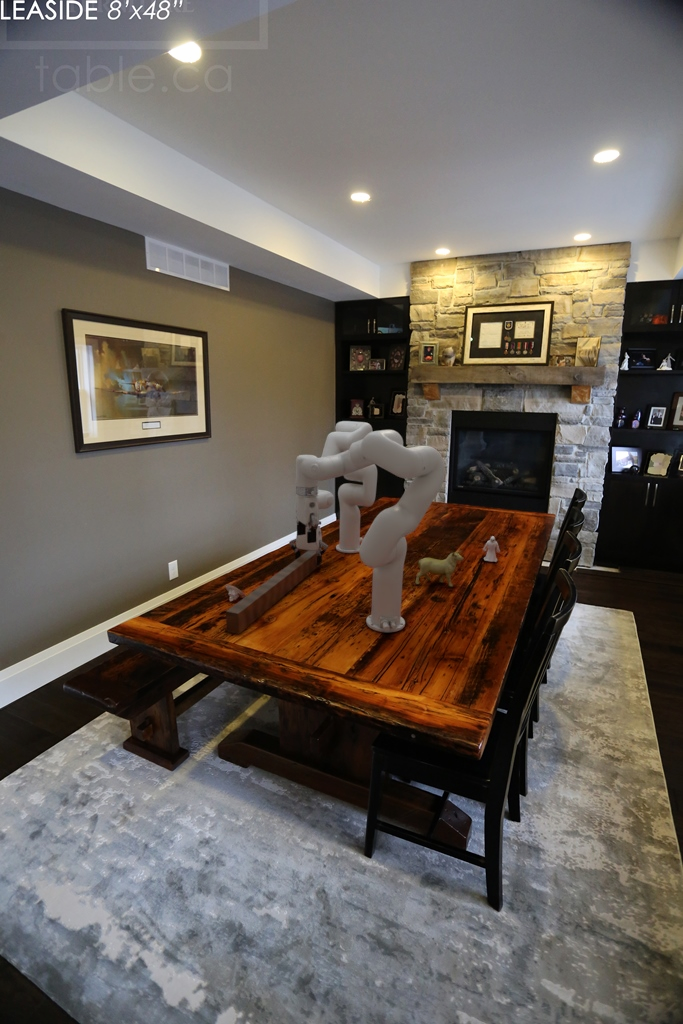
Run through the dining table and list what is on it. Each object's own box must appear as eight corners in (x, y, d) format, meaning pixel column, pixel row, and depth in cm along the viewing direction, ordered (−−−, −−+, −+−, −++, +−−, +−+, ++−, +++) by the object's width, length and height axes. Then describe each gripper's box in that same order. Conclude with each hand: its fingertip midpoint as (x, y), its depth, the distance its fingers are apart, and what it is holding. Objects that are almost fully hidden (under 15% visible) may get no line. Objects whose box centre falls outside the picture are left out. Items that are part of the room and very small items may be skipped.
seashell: (231, 609, 179) (216, 592, 179) (241, 599, 183) (227, 583, 182) (239, 604, 173) (224, 587, 172) (250, 595, 177) (235, 577, 176)
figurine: (481, 562, 222) (483, 536, 219) (482, 556, 230) (484, 531, 227) (499, 564, 220) (501, 538, 217) (499, 558, 228) (501, 533, 225)
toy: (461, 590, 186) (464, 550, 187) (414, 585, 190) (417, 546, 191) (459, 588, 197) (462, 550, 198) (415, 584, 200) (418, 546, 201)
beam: (239, 634, 154) (238, 613, 152) (226, 631, 156) (225, 611, 154) (319, 565, 215) (320, 549, 213) (310, 563, 217) (310, 548, 215)
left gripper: (331, 523, 205) (331, 562, 209) (293, 518, 211) (293, 557, 215) (325, 527, 198) (324, 568, 202) (285, 522, 204) (285, 562, 208)
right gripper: (327, 495, 166) (326, 544, 170) (307, 485, 181) (306, 531, 185) (306, 497, 163) (305, 547, 167) (287, 487, 178) (287, 533, 182)
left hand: (308, 562), depth 208 cm, fingers open, 9 cm apart
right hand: (306, 538), depth 176 cm, fingers open, 9 cm apart
